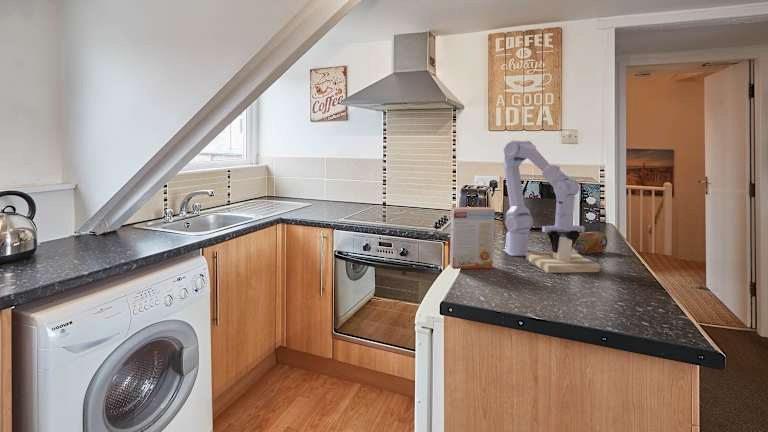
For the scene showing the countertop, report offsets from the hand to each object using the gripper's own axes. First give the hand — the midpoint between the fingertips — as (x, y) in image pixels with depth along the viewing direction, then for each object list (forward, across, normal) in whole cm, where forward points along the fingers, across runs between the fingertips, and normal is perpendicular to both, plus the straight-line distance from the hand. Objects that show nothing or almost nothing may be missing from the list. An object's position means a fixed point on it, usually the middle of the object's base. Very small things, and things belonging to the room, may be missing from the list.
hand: (561, 252), depth 149 cm
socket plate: (+5, 0, 0) cm, 5 cm away
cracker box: (+5, -33, -1) cm, 33 cm away
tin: (+5, +21, +18) cm, 28 cm away
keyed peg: (+3, 0, 0) cm, 3 cm away
